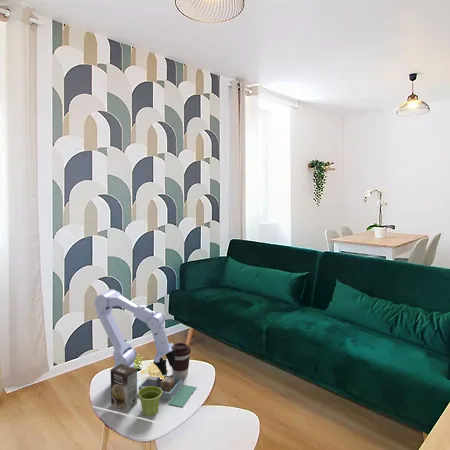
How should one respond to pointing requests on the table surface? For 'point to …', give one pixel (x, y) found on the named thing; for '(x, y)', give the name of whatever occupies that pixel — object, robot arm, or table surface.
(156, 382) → the plain block
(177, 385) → the bin
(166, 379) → the labelled block
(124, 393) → the coffee box
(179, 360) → the coffee cup
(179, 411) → the table surface
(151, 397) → the plant pot
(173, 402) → the mat
